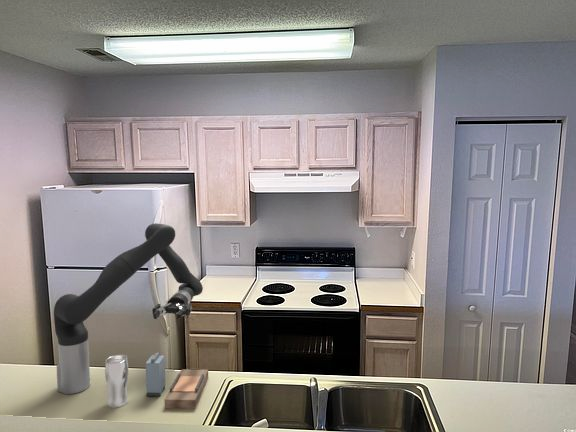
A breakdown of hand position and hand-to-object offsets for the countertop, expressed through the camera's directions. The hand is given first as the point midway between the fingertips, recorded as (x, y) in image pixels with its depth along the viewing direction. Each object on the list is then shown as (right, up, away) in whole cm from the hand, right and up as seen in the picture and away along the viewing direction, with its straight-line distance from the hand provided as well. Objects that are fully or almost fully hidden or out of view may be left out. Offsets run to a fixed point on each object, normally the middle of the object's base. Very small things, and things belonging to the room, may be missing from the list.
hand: (166, 316), depth 144 cm
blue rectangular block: (0, -24, -10) cm, 26 cm away
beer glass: (-11, -24, -16) cm, 31 cm away
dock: (+11, -24, -9) cm, 28 cm away
